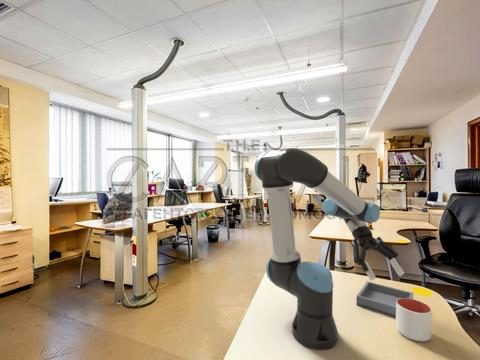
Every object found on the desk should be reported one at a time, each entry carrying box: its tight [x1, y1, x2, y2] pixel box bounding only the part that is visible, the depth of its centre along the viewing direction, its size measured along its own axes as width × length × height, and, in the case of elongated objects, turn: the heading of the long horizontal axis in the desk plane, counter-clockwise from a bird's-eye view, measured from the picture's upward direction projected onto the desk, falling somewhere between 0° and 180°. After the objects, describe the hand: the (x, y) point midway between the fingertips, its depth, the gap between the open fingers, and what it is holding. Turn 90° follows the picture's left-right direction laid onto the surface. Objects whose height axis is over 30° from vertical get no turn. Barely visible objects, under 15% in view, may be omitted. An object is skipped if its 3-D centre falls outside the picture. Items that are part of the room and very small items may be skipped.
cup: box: [395, 298, 433, 342], centre depth 84 cm, size 10×10×10 cm
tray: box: [356, 281, 414, 319], centre depth 104 cm, size 18×18×4 cm
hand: (387, 277), depth 94 cm, fingers open, 13 cm apart
